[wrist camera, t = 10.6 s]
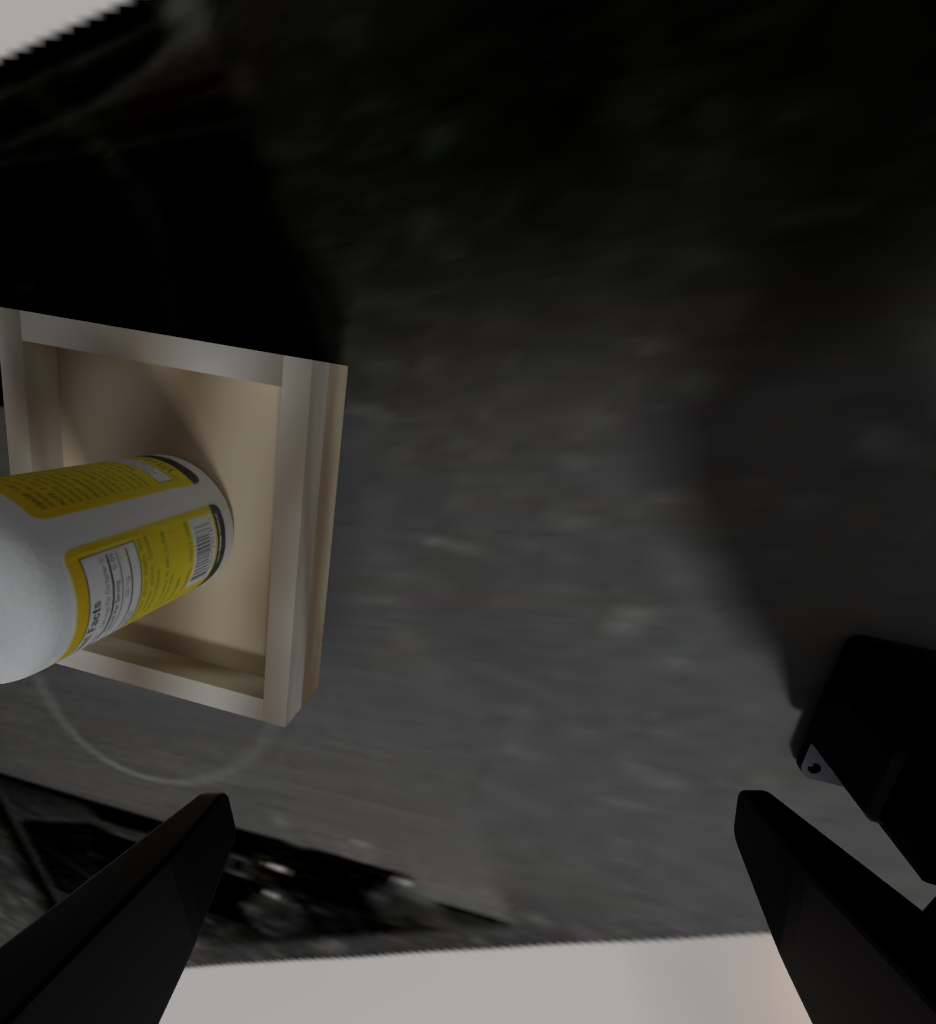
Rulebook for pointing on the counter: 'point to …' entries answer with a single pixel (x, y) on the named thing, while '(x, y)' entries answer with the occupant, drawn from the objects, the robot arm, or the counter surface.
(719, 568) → the counter surface
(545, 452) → the counter surface
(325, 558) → the shallow square tray
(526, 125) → the counter surface
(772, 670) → the counter surface
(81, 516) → the supplement bottle
